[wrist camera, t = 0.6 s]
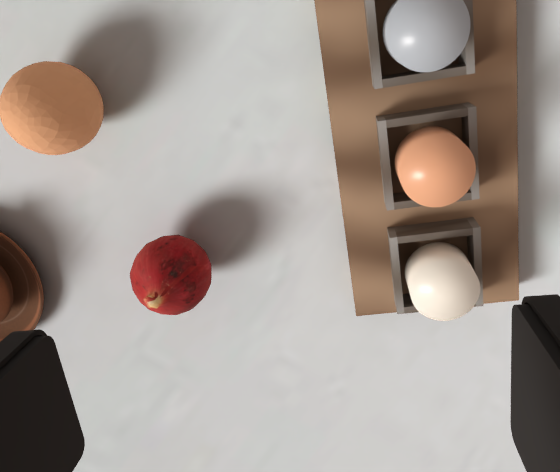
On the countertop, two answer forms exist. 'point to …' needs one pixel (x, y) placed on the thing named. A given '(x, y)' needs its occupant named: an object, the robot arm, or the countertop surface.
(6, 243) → the cup and saucer
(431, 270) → the cream button
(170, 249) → the red fruit
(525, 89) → the countertop surface
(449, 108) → the button board
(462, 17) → the grey button
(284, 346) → the countertop surface
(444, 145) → the terracotta button
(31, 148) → the egg
